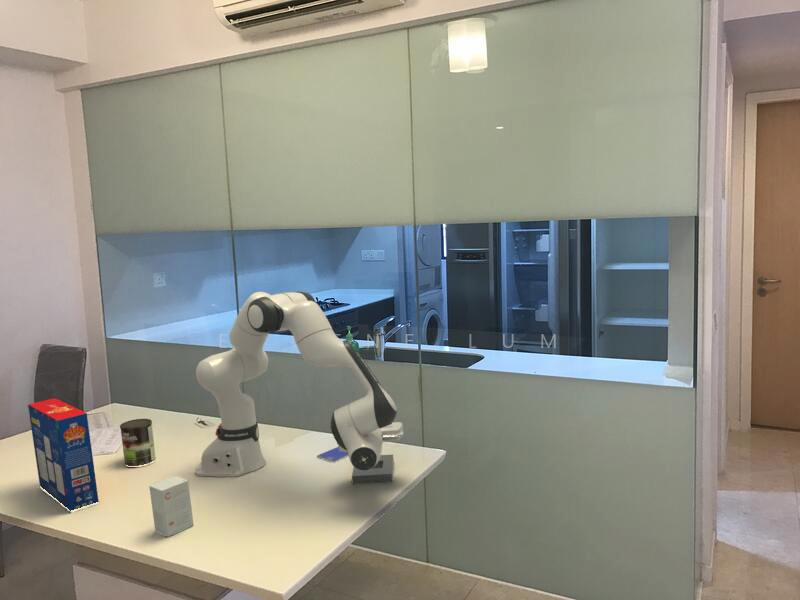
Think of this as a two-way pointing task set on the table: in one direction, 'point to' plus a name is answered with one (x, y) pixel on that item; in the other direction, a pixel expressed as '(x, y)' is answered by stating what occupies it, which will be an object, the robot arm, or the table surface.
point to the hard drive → (333, 455)
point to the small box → (171, 505)
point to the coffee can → (138, 442)
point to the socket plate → (375, 472)
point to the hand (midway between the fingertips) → (370, 424)
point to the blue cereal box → (63, 452)
